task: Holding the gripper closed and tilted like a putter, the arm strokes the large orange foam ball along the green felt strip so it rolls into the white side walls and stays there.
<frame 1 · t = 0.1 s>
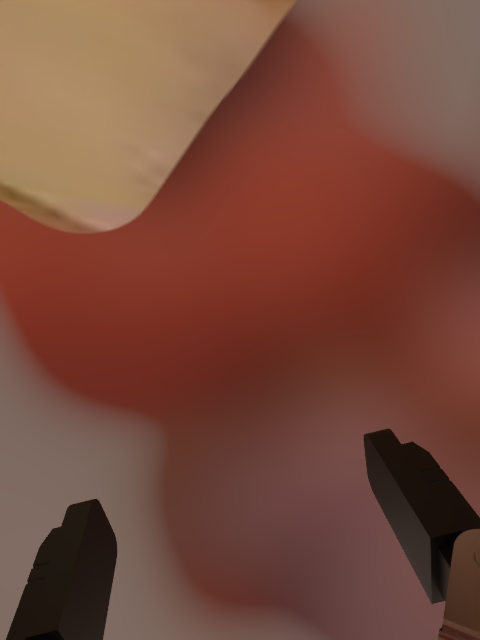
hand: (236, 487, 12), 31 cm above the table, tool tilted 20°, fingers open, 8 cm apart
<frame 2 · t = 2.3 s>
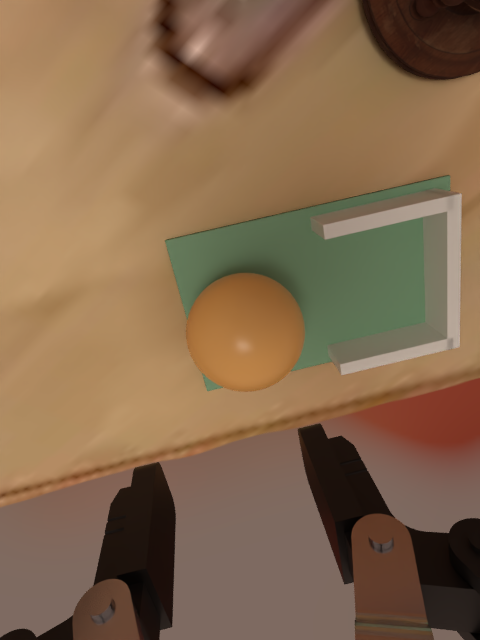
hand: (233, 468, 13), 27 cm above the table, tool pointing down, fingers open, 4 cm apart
white side walls: (380, 277, 41), resting on felt strip
ball: (245, 331, 36), point 5 cm above the table, touching felt strip
felt strip: (318, 289, 41), on the table
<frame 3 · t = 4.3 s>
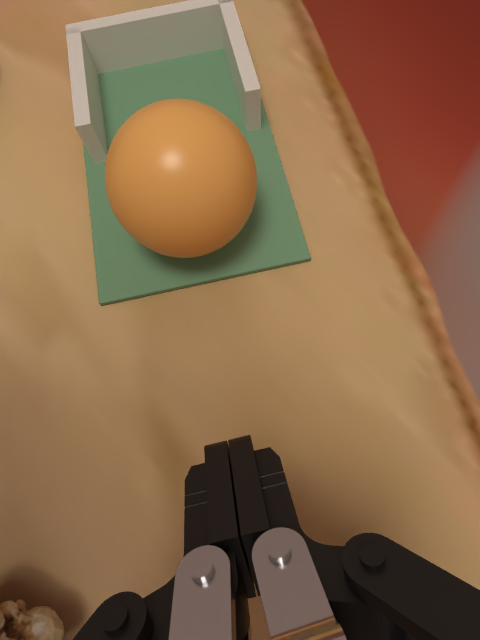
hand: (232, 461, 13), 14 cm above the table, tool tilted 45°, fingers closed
white side walls: (167, 95, 38), resting on felt strip
ball: (182, 182, 28), point 5 cm above the table, touching felt strip
felt strip: (179, 149, 36), on the table
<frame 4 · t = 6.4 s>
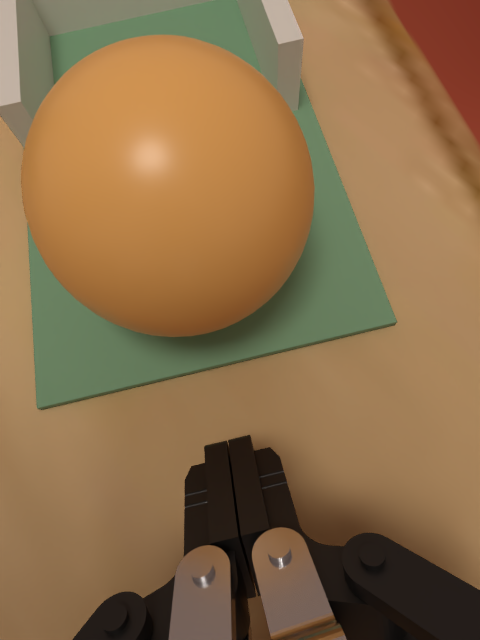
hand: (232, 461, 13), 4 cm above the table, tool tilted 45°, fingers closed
white side walls: (153, 63, 25), resting on felt strip
ball: (175, 200, 15), point 5 cm above the table, touching felt strip
felt strip: (171, 144, 23), on the table
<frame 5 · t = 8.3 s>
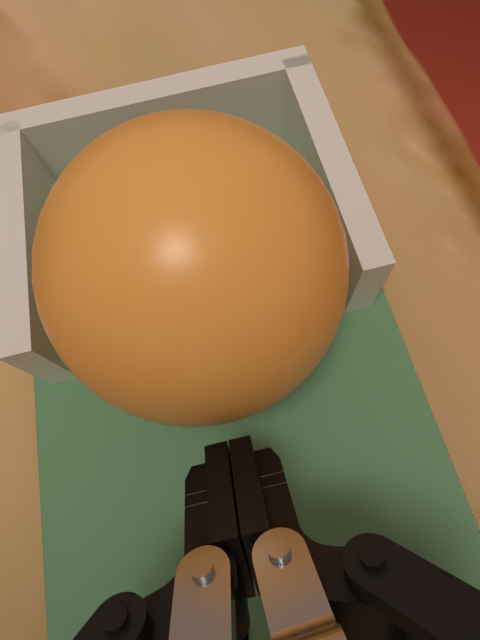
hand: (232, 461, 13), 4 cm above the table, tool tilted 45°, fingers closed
white side walls: (188, 231, 21), resting on felt strip
ball: (196, 274, 14), point 5 cm above the table, tilted 101°, touching felt strip
felt strip: (214, 347, 19), on the table
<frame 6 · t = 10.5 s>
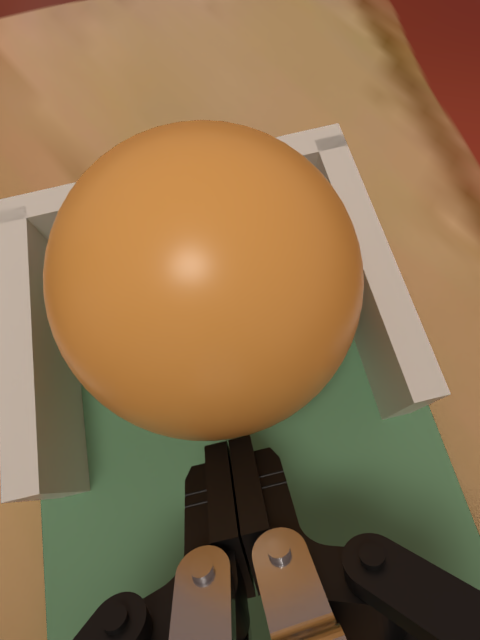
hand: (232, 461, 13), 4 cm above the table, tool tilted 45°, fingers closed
white side walls: (208, 319, 19), resting on felt strip
ball: (208, 285, 14), point 5 cm above the table, tilted 150°, touching felt strip, gripper
felt strip: (238, 455, 17), on the table
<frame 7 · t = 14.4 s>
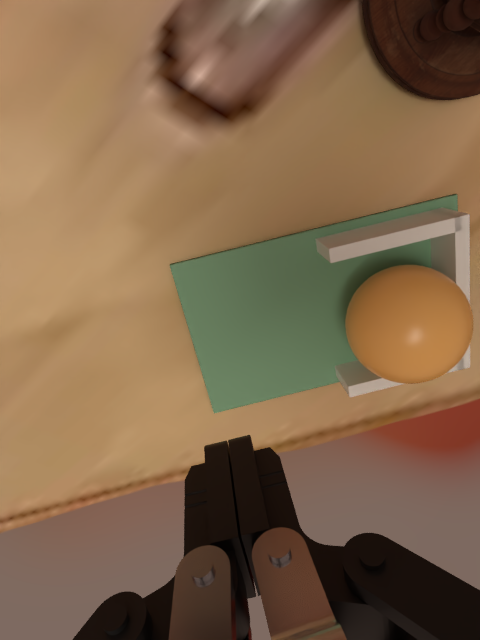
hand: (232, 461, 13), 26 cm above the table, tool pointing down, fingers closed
white side walls: (387, 296, 40), resting on felt strip
ball: (405, 324, 36), point 5 cm above the table, tilted 153°, touching felt strip
felt strip: (325, 310, 40), on the table
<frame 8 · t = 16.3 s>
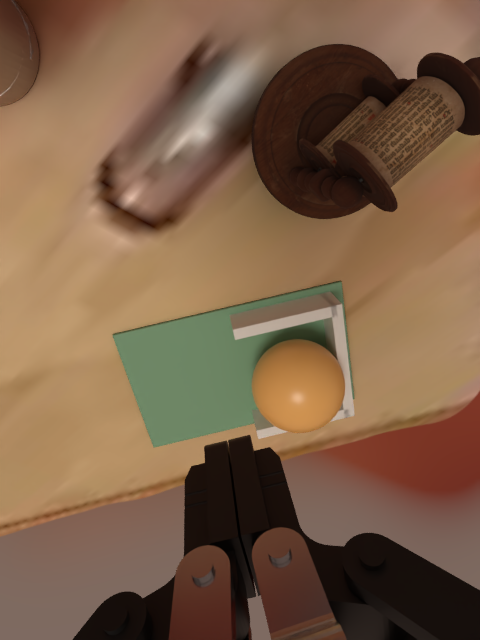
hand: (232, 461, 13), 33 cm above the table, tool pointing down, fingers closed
white side walls: (291, 357, 50), resting on felt strip
dark wooden ornament: (323, 138, 41), on the table
ball: (297, 385, 46), point 5 cm above the table, tilted 154°, touching felt strip
felt strip: (241, 367, 50), on the table
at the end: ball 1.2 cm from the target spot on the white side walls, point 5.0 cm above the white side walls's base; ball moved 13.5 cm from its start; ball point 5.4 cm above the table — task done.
